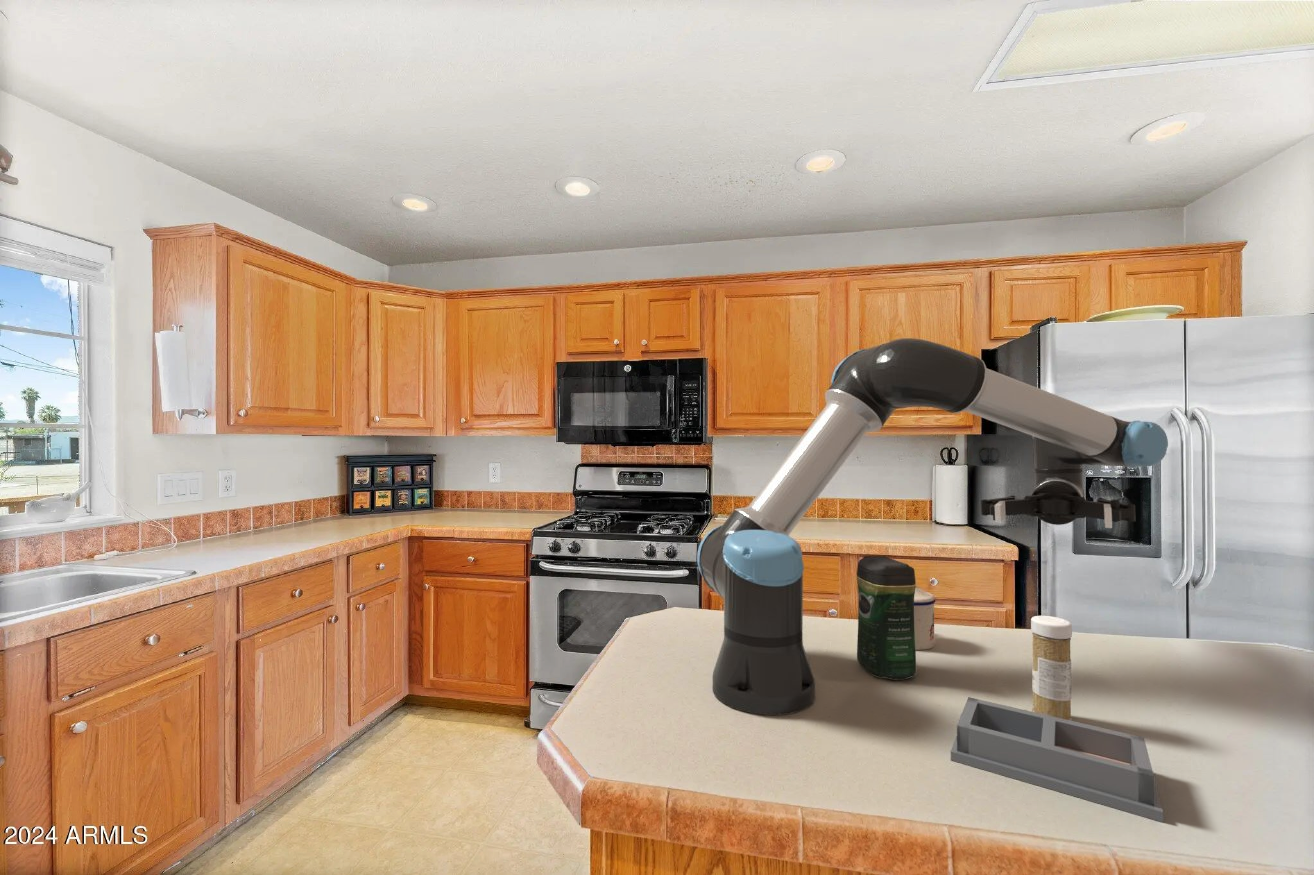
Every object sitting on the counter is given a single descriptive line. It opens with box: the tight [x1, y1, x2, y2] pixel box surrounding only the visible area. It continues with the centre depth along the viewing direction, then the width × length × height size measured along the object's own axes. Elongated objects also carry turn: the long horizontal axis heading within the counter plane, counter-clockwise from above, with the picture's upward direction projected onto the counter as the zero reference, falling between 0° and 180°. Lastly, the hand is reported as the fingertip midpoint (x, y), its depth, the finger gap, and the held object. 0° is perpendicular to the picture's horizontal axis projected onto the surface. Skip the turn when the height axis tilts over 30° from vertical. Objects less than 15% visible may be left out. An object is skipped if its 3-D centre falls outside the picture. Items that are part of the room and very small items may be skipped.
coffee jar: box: [856, 555, 917, 681], centre depth 94 cm, size 10×8×19 cm
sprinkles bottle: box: [1030, 615, 1073, 721], centre depth 77 cm, size 5×5×14 cm
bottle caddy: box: [950, 696, 1164, 823], centre depth 66 cm, size 19×11×4 cm, turn 54°
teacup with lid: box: [914, 585, 936, 651], centre depth 109 cm, size 12×9×12 cm
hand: (1050, 516), depth 85 cm, fingers open, 13 cm apart
